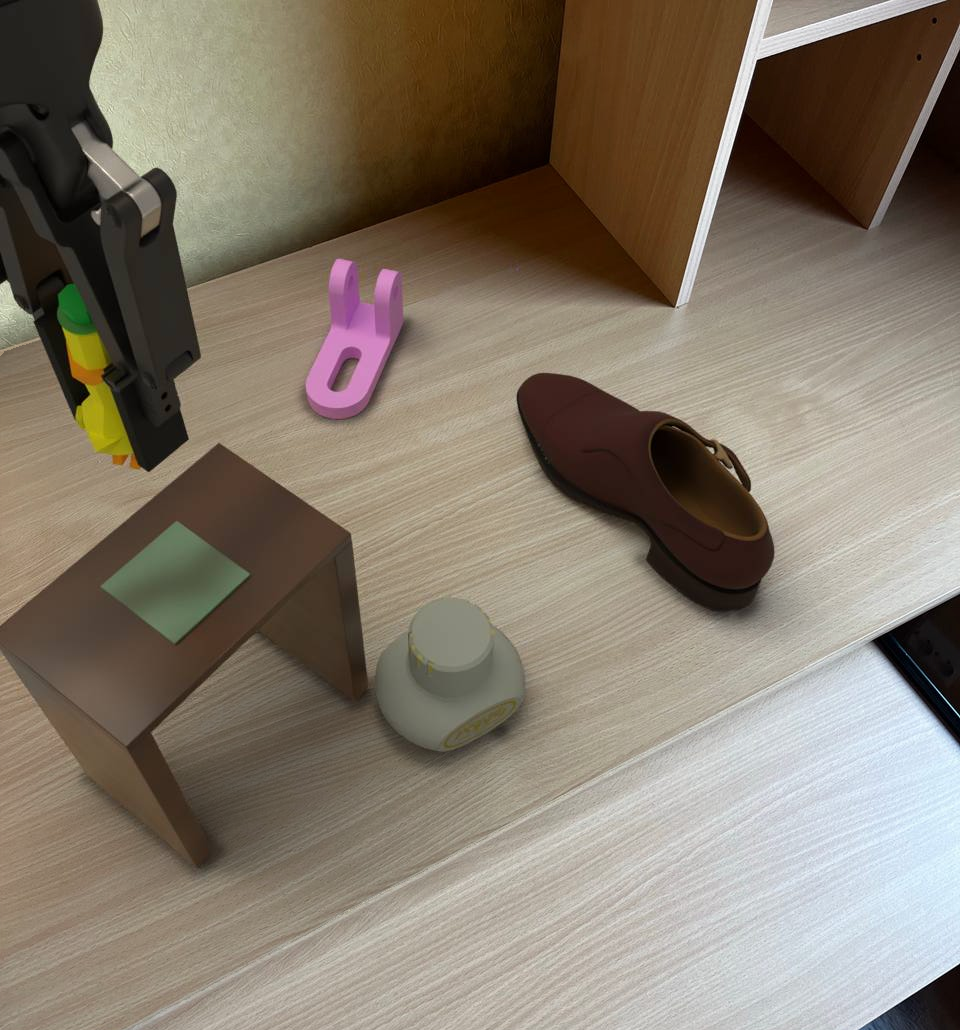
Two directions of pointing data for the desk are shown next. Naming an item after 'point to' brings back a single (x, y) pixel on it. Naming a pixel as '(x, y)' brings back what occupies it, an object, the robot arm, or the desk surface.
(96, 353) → the toy figure
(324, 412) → the bracket
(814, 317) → the desk surface
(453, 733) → the air freshener
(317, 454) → the desk surface
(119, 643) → the shelf
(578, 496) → the dress shoe
